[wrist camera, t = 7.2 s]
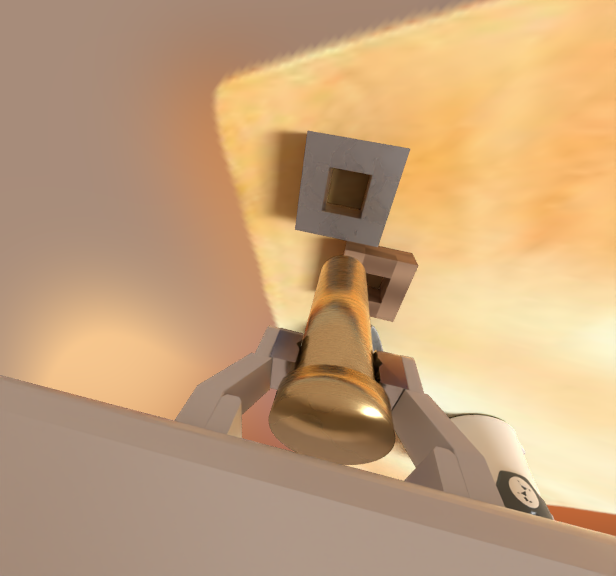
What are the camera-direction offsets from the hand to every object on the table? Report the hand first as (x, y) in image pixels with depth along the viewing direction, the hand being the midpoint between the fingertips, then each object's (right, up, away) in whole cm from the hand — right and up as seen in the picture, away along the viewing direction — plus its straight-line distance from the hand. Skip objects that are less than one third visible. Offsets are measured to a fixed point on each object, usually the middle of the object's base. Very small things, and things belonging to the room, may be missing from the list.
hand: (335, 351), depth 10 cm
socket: (+4, +15, +19) cm, 25 cm away
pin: (+1, +3, +6) cm, 7 cm away
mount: (+8, +5, +25) cm, 26 cm away
